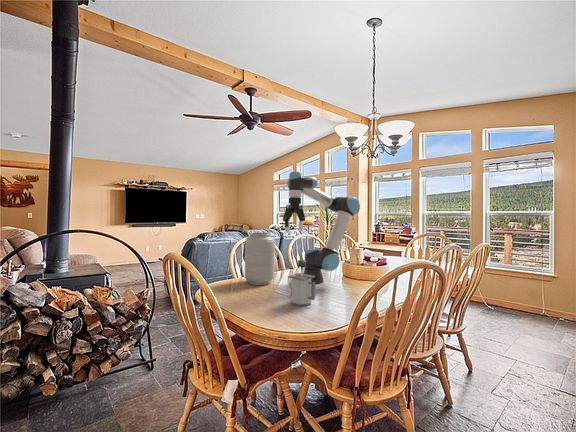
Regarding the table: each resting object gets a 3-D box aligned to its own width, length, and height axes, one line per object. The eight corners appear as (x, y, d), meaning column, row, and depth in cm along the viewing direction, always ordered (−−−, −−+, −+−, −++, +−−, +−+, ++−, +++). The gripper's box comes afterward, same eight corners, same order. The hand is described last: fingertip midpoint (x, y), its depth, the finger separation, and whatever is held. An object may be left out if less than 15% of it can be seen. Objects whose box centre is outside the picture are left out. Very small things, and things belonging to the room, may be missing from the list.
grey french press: (298, 298, 171) (299, 272, 170) (319, 304, 162) (319, 276, 162) (287, 303, 162) (287, 276, 162) (308, 308, 154) (308, 280, 154)
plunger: (299, 289, 168) (300, 259, 167) (310, 291, 164) (310, 260, 163) (292, 291, 163) (293, 260, 162) (302, 294, 158) (303, 262, 158)
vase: (279, 281, 209) (280, 233, 208) (262, 288, 192) (263, 235, 191) (256, 277, 219) (257, 231, 218) (238, 283, 202) (239, 233, 201)
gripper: (301, 198, 196) (300, 230, 197) (277, 196, 176) (276, 232, 177) (311, 198, 191) (310, 231, 192) (287, 196, 172) (286, 233, 172)
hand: (294, 232), depth 184 cm, fingers open, 13 cm apart
